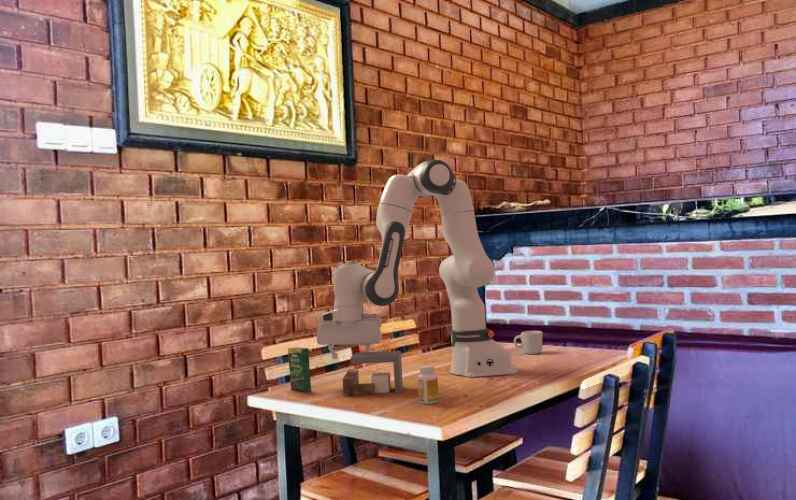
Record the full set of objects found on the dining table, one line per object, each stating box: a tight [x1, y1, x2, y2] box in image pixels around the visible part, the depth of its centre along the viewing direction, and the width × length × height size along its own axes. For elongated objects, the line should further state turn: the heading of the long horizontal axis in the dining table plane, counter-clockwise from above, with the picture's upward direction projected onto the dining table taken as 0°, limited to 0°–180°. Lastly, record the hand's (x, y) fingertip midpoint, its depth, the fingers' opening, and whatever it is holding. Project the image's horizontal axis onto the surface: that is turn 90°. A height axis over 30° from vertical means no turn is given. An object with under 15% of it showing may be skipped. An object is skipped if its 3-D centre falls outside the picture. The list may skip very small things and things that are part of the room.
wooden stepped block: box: [342, 368, 376, 397], centre depth 196 cm, size 9×16×5 cm, turn 178°
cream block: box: [370, 372, 392, 394], centre depth 193 cm, size 5×5×5 cm
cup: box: [513, 330, 544, 355], centre depth 244 cm, size 11×8×8 cm
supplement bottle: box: [417, 364, 440, 405], centre depth 176 cm, size 5×5×10 cm
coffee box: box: [287, 346, 312, 393], centre depth 201 cm, size 8×3×13 cm, turn 42°
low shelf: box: [350, 350, 404, 394], centre depth 193 cm, size 14×8×11 cm, turn 84°
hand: (349, 358), depth 202 cm, fingers open, 8 cm apart
